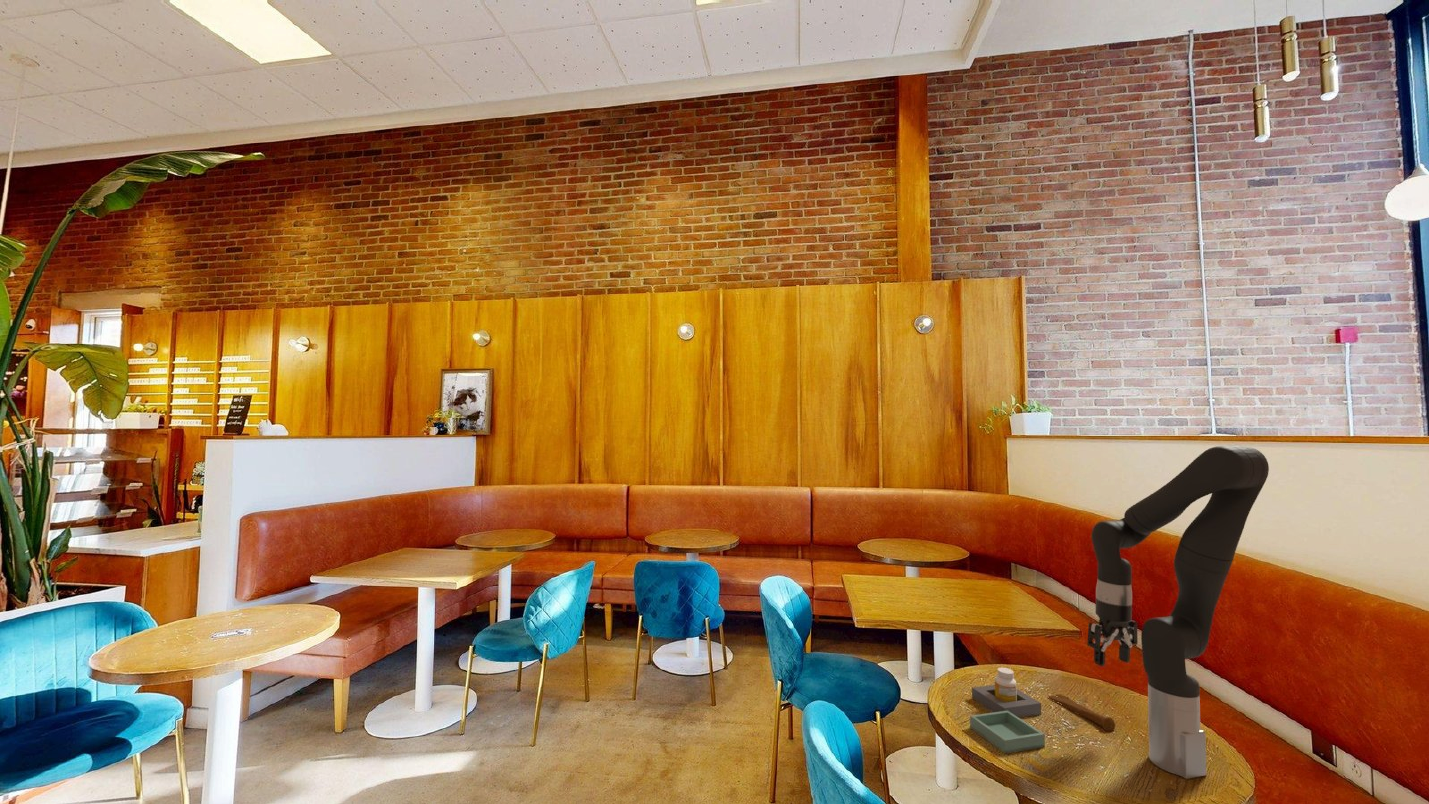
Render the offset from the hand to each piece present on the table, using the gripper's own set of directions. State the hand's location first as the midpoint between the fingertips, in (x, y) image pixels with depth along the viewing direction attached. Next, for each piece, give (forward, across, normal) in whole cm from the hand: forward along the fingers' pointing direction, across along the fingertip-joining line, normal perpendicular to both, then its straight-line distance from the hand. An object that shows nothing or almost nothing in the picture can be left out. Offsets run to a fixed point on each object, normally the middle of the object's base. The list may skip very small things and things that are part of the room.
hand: (1112, 663), depth 141 cm
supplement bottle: (+18, -16, +18) cm, 30 cm away
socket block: (+18, -16, +18) cm, 30 cm away
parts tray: (+18, -28, +5) cm, 33 cm away
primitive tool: (+19, +2, +10) cm, 21 cm away
